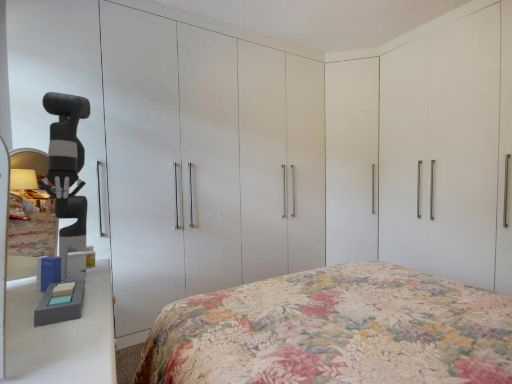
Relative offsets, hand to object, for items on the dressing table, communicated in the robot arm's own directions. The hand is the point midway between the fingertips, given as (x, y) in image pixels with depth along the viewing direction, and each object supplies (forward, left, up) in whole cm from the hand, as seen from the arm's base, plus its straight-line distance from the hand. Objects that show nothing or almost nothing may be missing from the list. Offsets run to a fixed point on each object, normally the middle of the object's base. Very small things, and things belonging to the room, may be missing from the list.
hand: (62, 210), depth 86 cm
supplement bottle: (-41, +6, -29) cm, 51 cm away
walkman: (-13, -5, -29) cm, 32 cm away
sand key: (+5, +1, -27) cm, 27 cm away
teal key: (+12, +1, -28) cm, 31 cm away
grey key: (-2, +1, -28) cm, 28 cm away
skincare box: (-15, +3, -29) cm, 33 cm away
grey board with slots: (+5, +1, -29) cm, 29 cm away
